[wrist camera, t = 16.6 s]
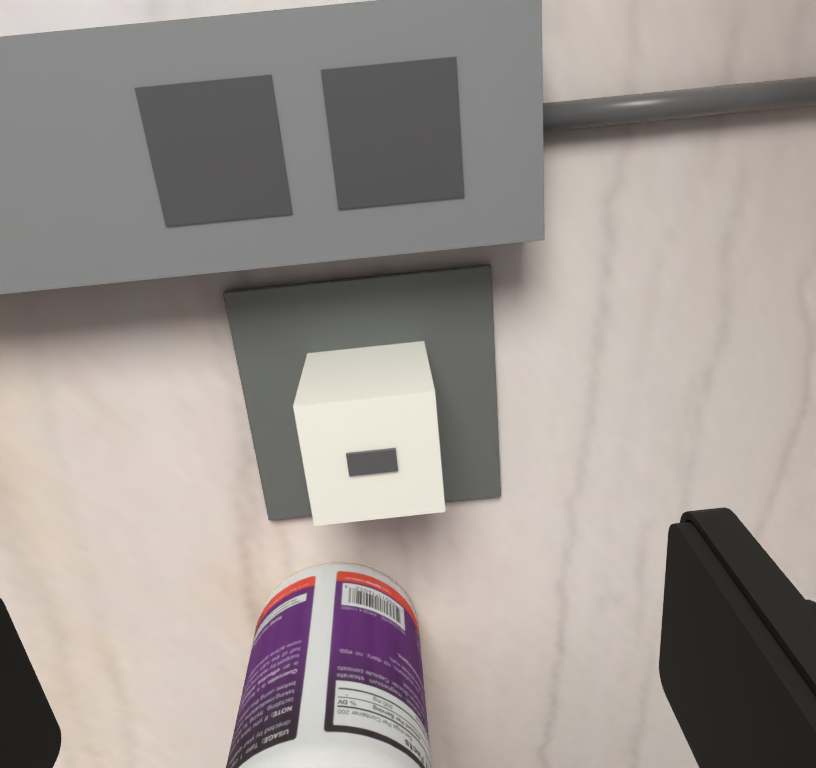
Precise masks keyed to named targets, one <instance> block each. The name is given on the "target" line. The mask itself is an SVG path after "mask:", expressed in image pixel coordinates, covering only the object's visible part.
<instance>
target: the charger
mask: <svg viewBox="0 0 816 768" xmlns="http://www.w3.org/2000/svg"><path fill="white" fill-rule="evenodd" d="M293 409H294V414H295V420H296V426H297V431H298V437H299V443H300V449H301V454H302V460H303V466H304V471H305V477H306V483H307V488H308V494H309V500H310V505H311V511H312V517H313V522H314V526H319V525H328V524H338V523H347V522H356V521H366V520H375V519H384V518H393V517H403V516H412V515H421V514H431V513H440V512H445V501H444V489H443V477H442V466H441V454H440V443H439V431H438V420H437V408H436V396H435V389H434V384H433V379H432V375H431V370H430V366H429V361H428V356H427V352H426V347H425V343H424V341H419V342H410V343H400V344H391V345H381V346H372V347H362V348H353V349H343V350H334V351H324V352H315V353H307V356H306V360H305V364H304V367H303V371H302V375H301V379H300V382H299V386H298V390H297V393H296V397H295V401H294V405H293Z"/></svg>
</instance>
